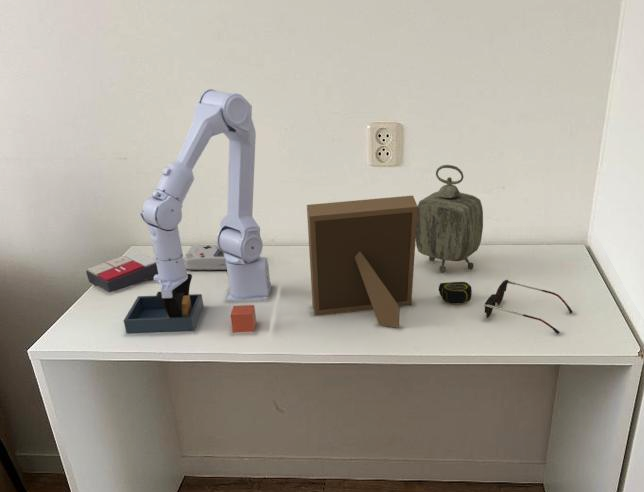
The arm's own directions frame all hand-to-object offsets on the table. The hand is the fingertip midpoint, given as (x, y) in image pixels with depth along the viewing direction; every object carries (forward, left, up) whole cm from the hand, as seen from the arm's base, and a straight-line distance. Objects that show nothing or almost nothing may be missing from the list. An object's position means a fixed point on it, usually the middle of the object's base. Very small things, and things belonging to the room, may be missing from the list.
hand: (180, 315), depth 161 cm
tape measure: (-61, -6, -2) cm, 61 cm away
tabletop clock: (-61, -24, -2) cm, 65 cm away
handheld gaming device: (-3, -32, -2) cm, 32 cm away
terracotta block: (-15, +5, -1) cm, 16 cm away
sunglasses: (-76, +4, -2) cm, 76 cm away
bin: (+3, 0, -1) cm, 4 cm away
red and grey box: (+19, -25, -2) cm, 31 cm away
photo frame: (-41, +1, -2) cm, 41 cm away
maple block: (0, 0, -1) cm, 1 cm away
